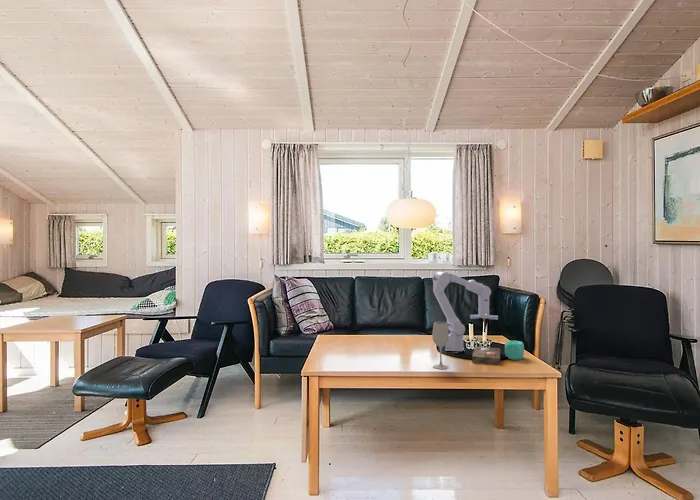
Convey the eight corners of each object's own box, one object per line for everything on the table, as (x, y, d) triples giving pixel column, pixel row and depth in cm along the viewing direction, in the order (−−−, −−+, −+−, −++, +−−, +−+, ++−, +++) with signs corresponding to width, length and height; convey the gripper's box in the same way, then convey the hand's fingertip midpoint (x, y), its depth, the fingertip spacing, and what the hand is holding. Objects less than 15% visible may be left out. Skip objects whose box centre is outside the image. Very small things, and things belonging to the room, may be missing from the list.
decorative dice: (524, 357, 228) (524, 341, 228) (521, 360, 222) (521, 344, 222) (507, 355, 233) (507, 339, 232) (504, 358, 226) (504, 342, 226)
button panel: (472, 362, 219) (472, 356, 219) (474, 352, 239) (474, 346, 239) (500, 364, 215) (500, 358, 215) (500, 354, 235) (500, 348, 235)
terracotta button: (485, 359, 220) (485, 353, 220) (486, 357, 224) (486, 351, 224) (495, 359, 219) (495, 354, 219) (495, 357, 223) (495, 352, 223)
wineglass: (443, 364, 217) (442, 320, 216) (452, 368, 210) (451, 323, 209) (429, 365, 214) (429, 322, 214) (438, 370, 207) (438, 324, 206)
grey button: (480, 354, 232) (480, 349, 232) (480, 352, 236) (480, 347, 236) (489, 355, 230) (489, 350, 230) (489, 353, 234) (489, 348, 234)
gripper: (469, 308, 244) (469, 332, 244) (497, 308, 239) (497, 334, 239) (470, 306, 251) (470, 330, 251) (497, 307, 246) (497, 331, 246)
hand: (483, 332), depth 245 cm, fingers closed
